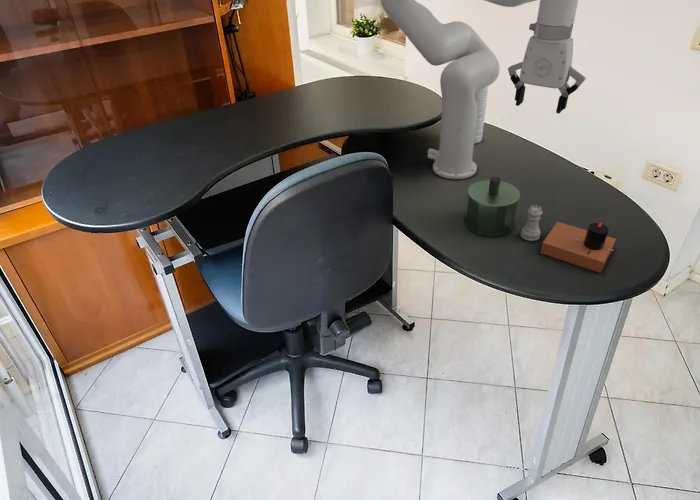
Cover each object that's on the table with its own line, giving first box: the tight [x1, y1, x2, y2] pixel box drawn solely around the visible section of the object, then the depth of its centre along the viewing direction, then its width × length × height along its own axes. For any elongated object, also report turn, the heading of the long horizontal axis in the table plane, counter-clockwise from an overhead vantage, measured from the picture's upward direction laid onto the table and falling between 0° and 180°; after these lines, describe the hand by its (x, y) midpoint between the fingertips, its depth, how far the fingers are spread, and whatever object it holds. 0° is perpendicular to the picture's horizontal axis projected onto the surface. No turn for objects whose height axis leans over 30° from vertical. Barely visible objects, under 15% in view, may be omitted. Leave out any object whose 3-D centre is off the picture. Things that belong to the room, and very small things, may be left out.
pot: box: [465, 196, 519, 238], centre depth 122 cm, size 11×11×8 cm
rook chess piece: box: [520, 204, 544, 242], centre depth 117 cm, size 4×4×8 cm
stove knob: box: [584, 221, 609, 250], centre depth 109 cm, size 4×4×5 cm
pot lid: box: [467, 176, 521, 207], centre depth 118 cm, size 12×12×5 cm
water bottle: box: [474, 86, 489, 145], centre depth 156 cm, size 9×6×25 cm
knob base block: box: [540, 221, 617, 274], centre depth 113 cm, size 14×10×3 cm
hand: (539, 107), depth 119 cm, fingers open, 9 cm apart
